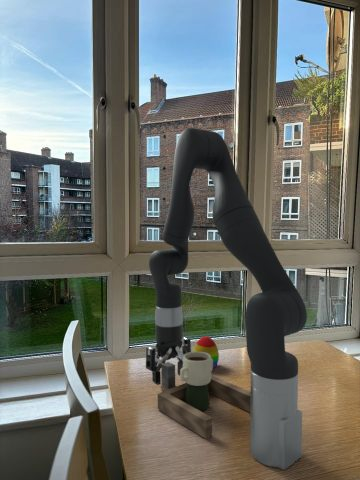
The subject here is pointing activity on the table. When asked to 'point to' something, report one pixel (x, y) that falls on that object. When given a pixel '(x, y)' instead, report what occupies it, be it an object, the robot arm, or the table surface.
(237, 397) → the frame
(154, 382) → the robot arm
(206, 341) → the decorative egg
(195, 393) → the character mug
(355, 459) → the table surface
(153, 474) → the table surface
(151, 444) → the table surface
